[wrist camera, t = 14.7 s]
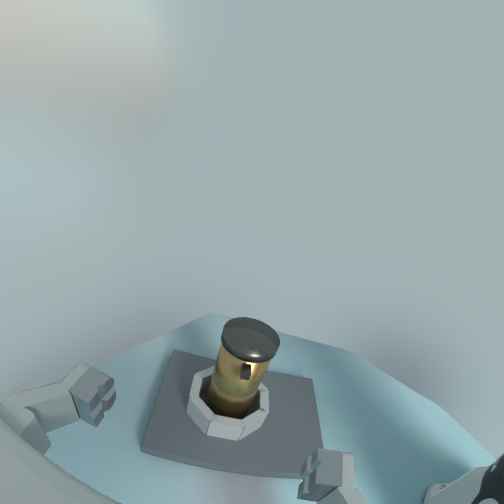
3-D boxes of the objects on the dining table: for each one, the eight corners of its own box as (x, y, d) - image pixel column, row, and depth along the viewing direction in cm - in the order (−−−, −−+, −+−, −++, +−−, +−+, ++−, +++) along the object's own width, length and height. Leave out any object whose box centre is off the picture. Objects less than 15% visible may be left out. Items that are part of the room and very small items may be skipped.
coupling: (206, 381, 35) (227, 306, 30) (248, 390, 35) (277, 318, 31) (197, 428, 28) (218, 355, 23) (246, 437, 28) (282, 368, 23)
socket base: (308, 385, 40) (319, 364, 38) (321, 478, 25) (339, 462, 24) (172, 356, 39) (176, 333, 37) (141, 451, 24) (140, 432, 22)
